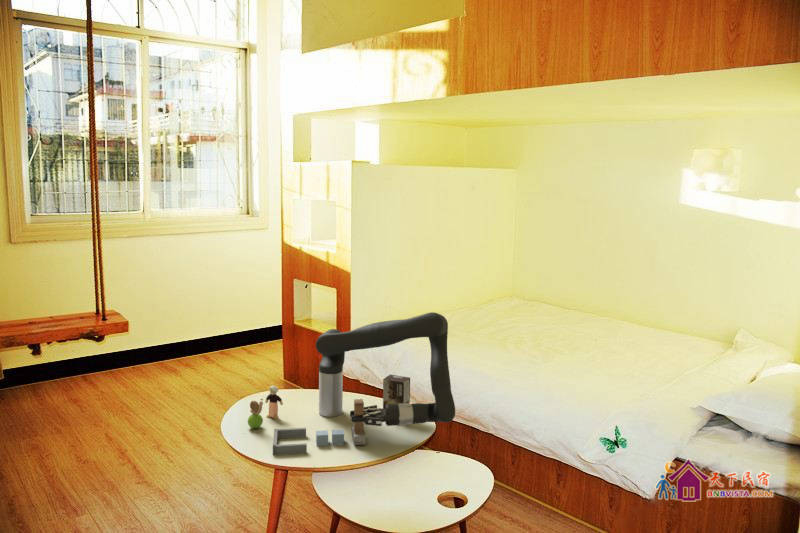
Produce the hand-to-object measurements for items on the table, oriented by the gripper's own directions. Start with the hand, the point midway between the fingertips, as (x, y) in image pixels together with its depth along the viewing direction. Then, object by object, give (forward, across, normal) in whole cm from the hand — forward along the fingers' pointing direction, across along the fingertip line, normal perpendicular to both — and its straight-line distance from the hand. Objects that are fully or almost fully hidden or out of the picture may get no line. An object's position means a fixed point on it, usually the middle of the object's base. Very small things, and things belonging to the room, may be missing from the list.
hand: (350, 416), depth 216 cm
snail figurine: (+34, -16, +10) cm, 38 cm away
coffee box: (-19, -20, +10) cm, 30 cm away
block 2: (+5, 0, +10) cm, 11 cm away
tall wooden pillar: (-3, 0, +8) cm, 9 cm away
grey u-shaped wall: (+21, 0, +9) cm, 23 cm away
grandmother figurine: (+28, -26, +10) cm, 39 cm away
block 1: (+10, 0, +10) cm, 14 cm away
